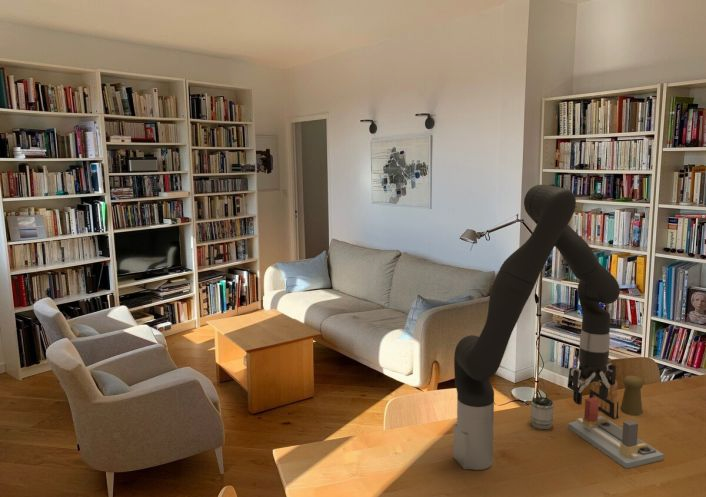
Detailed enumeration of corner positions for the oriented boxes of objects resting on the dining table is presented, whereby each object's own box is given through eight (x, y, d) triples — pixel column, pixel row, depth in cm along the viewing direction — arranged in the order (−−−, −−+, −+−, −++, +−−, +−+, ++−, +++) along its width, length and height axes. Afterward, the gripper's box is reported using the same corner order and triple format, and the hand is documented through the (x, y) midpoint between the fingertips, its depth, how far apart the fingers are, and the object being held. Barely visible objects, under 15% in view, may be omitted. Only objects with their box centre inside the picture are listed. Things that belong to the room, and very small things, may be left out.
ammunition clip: (618, 418, 162) (620, 380, 160) (613, 419, 161) (615, 381, 159) (593, 402, 172) (595, 367, 170) (588, 403, 171) (590, 368, 169)
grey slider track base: (626, 468, 136) (628, 430, 134) (567, 427, 157) (569, 394, 155) (663, 459, 140) (666, 422, 138) (601, 420, 160) (603, 387, 159)
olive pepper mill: (643, 409, 167) (645, 375, 165) (641, 417, 162) (644, 382, 160) (621, 404, 170) (623, 371, 168) (619, 412, 165) (621, 378, 163)
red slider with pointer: (589, 429, 151) (590, 402, 150) (582, 425, 153) (583, 398, 152) (609, 425, 153) (611, 398, 152) (603, 421, 156) (604, 394, 154)
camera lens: (526, 425, 159) (527, 400, 157) (535, 417, 163) (536, 393, 162) (547, 432, 155) (548, 407, 153) (556, 424, 159) (557, 399, 158)
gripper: (582, 354, 143) (578, 411, 146) (625, 348, 147) (620, 403, 150) (563, 344, 150) (560, 399, 153) (605, 339, 154) (601, 392, 157)
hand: (590, 401), depth 152 cm, fingers open, 8 cm apart
